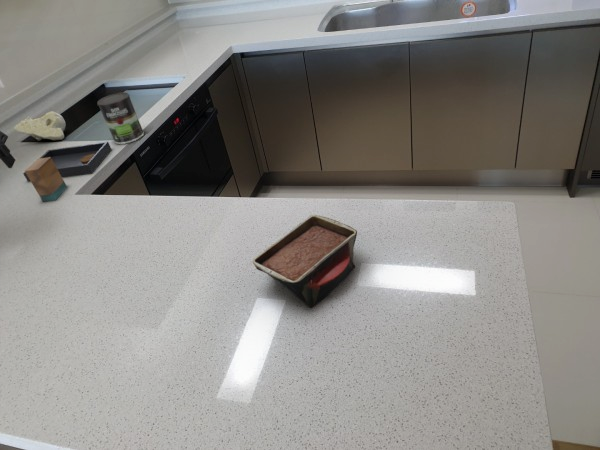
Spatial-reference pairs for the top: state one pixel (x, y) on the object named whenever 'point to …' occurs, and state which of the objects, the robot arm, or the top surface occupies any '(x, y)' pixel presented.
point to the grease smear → (87, 158)
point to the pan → (77, 158)
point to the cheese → (43, 127)
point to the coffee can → (121, 118)
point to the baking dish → (311, 258)
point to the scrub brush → (46, 179)
